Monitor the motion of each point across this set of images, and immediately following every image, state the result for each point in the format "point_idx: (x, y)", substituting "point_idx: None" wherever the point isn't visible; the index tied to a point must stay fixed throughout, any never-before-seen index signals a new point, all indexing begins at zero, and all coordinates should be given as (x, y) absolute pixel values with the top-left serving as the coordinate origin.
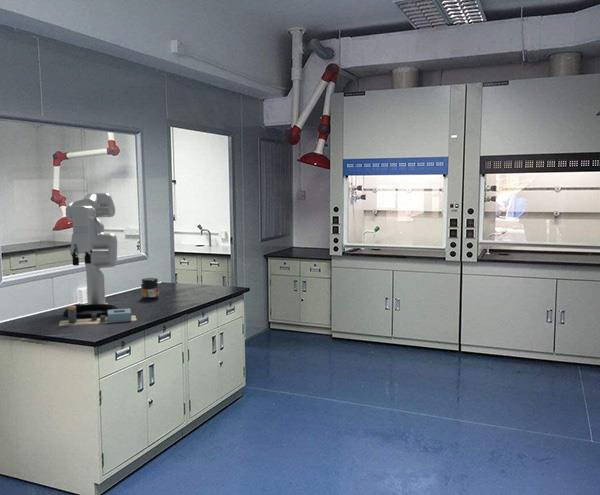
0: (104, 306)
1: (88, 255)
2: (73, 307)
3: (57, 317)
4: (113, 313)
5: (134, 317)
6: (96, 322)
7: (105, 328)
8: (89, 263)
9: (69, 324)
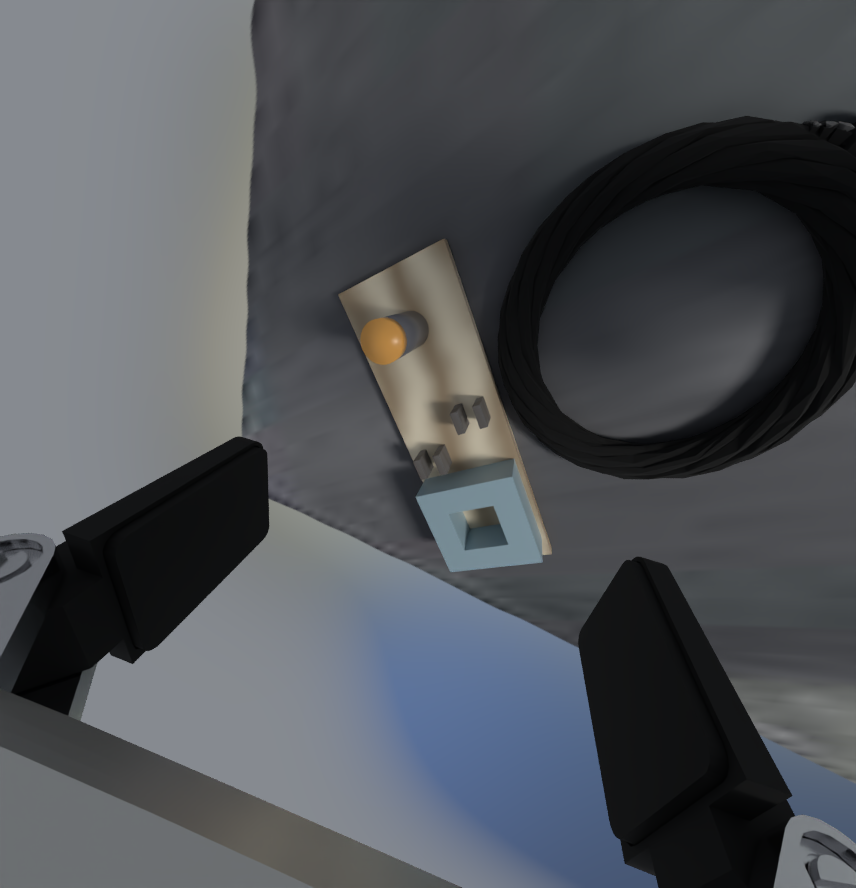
0: (803, 382)
1: (657, 862)
2: (369, 357)
3: (607, 119)
4: (435, 513)
5: None
6: (421, 435)
7: (377, 475)
8: (592, 627)
9: None
